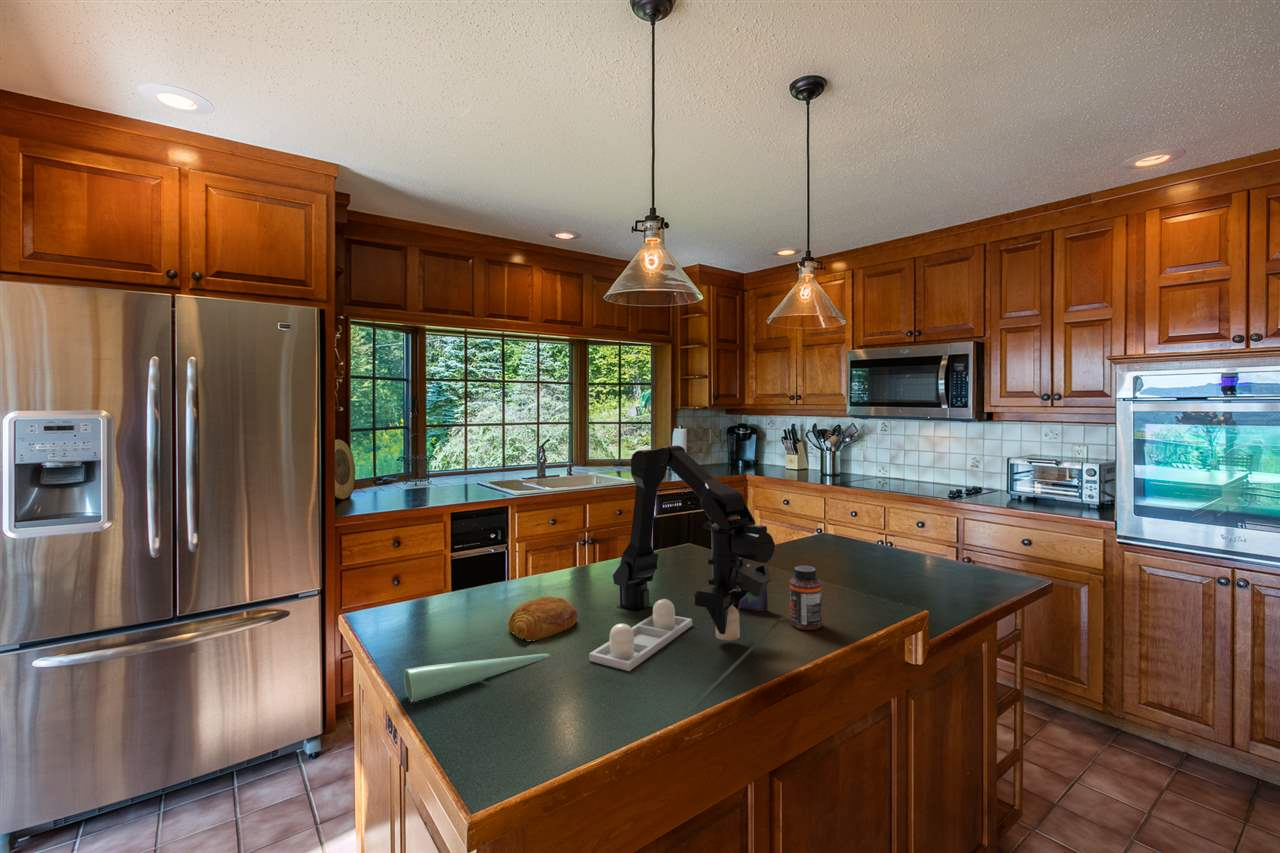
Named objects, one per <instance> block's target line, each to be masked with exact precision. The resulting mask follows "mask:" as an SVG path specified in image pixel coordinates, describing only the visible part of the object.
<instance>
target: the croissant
mask: <svg viewBox="0 0 1280 853" xmlns="http://www.w3.org/2000/svg"><path fill="white" fill-rule="evenodd" d="M577 621H578V612H577V610H576V607H574V606H573V605H572V604H570V602H568V601H567V600H565V599H564V598H561V597H554V596H542V597H538V598H534V599H531V600H530V601H527V602H526V601H525V602H524V603H522V604H521V605H519V606H518V607H516V608H515V609H514V610H513V612H512V614H511V615H510V617H509V620H508V626H509V627H508V630H510V631H511V632H510V631H509V632H510V633H512V632H514V634H515V636H516V637H517V638H518V637H519V638H518V639H520V638H521V639H520V640H523V639H525V640H531V641H533V640H538V641H541V640H543V639H546V638H549V637H551V636H554V635H557V634H559V633H562V632H563V631H566V630H569V629H570V628H572V627H573V626H575V624H576V623H577ZM514 634H513V635H514ZM540 639H541V640H540ZM525 640H524V641H525ZM531 641H530V642H531Z"/></svg>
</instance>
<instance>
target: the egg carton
mask: <svg viewBox="0 0 1280 853" xmlns="http://www.w3.org/2000/svg"><path fill="white" fill-rule="evenodd" d="M692 626H693V618H689V617H683V616H677V615H675V628H674V629H673V630H671V631H669V630H664V629H659V628H654V627H653V614H651V615H650V616H648V617H647V618H645V619H643V620H642V621H640V622H638V623H637V624H636V625H633V626H632V627H631V628H632V630H633V633H634V655H635V656H634V657H633V658H631V659H630V660H628V661H626V660H622V659H618V658H614V657H610V642H609V641H607V642H606V643H604V644H602V645H601V646H599V647H598V648H596V649H594V650H592V651H591V652H590V653H589V654H588V657H589V660H588V661H589V662H592V663H596V664H600V665H603V666H607V667H612V668H615V669H619V670H623V671H627V672H631V670H633V669H634V668H636V667H637V666H639V665H640V664H641V663H643V662H645V660H647V659H648V658H650V657H651V656H652V655H654V654H656V653H657V652H658V651H659V650H660V649H662V648H663V647H665V646H666V645H667V644H669V643H670V642H671V641H673V640H675V639H676V638H677V637H679V636H680V635H681V634H683V633H684V632H685V631H686V630H688V629H690V628H692Z"/></svg>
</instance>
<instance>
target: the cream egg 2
mask: <svg viewBox="0 0 1280 853" xmlns="http://www.w3.org/2000/svg"><path fill="white" fill-rule="evenodd" d="M674 605H675V604H673V602H672V601H671V600H669V599H666V598H660V599H659V600H657V601H655V602H654V604H653V608H652V615H653V627H654V628H659V629H664V630H669V631H671V630H673V629H674V628H675V616H676V610H675V606H674Z"/></svg>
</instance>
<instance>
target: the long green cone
mask: <svg viewBox="0 0 1280 853" xmlns="http://www.w3.org/2000/svg"><path fill="white" fill-rule="evenodd" d="M550 657H551V655H550V654H549V653H537V654H528V655H520V656H509V657H499V658H498V657H497V658H488V659H480V660H479V659H478V660H470V661H460V662H449V663H441V664H431V665H430V664H429V665H423V666H418V667H416V666H415V667H410V668H406V669H404V673H403V685H404V691H405V695H407V696H410V695H412V698H411V700H410V701H411V702H413V701H417V700H420V699H423V698H427V697H430V696H433V695H437V694H440V693H444V692H447V691H450V690H454V689H457V688H459V687H462V686H466V685H469V684H471V683H474V682H478V681H481V680H486V679H488V678H492V677H494V676H496V675H499V674H503V673H507V672H509V671H512V670H515V669H516V670H517V669H519V668H522V667H525V666H527V665H530V664H533V663H537V662H540V661H543V660H545V659H549V658H550ZM466 687H467V686H466ZM457 690H458V689H457ZM454 691H455V690H454Z"/></svg>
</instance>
